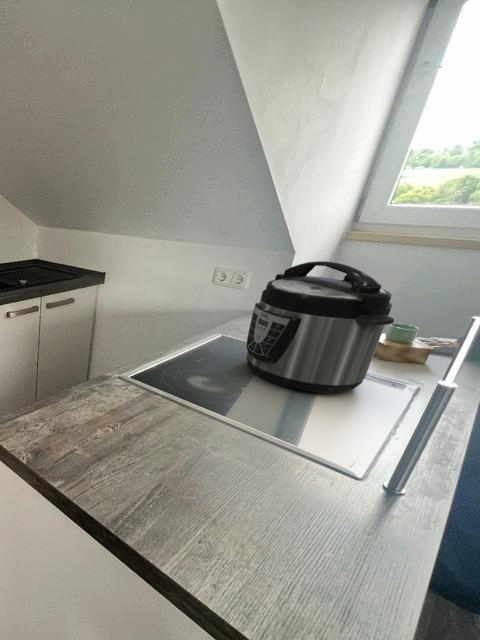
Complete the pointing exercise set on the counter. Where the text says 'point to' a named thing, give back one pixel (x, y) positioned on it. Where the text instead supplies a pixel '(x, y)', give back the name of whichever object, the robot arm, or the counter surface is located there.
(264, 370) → the pressure cooker
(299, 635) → the counter surface
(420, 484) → the counter surface
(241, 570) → the counter surface
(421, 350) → the riser
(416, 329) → the bowl
